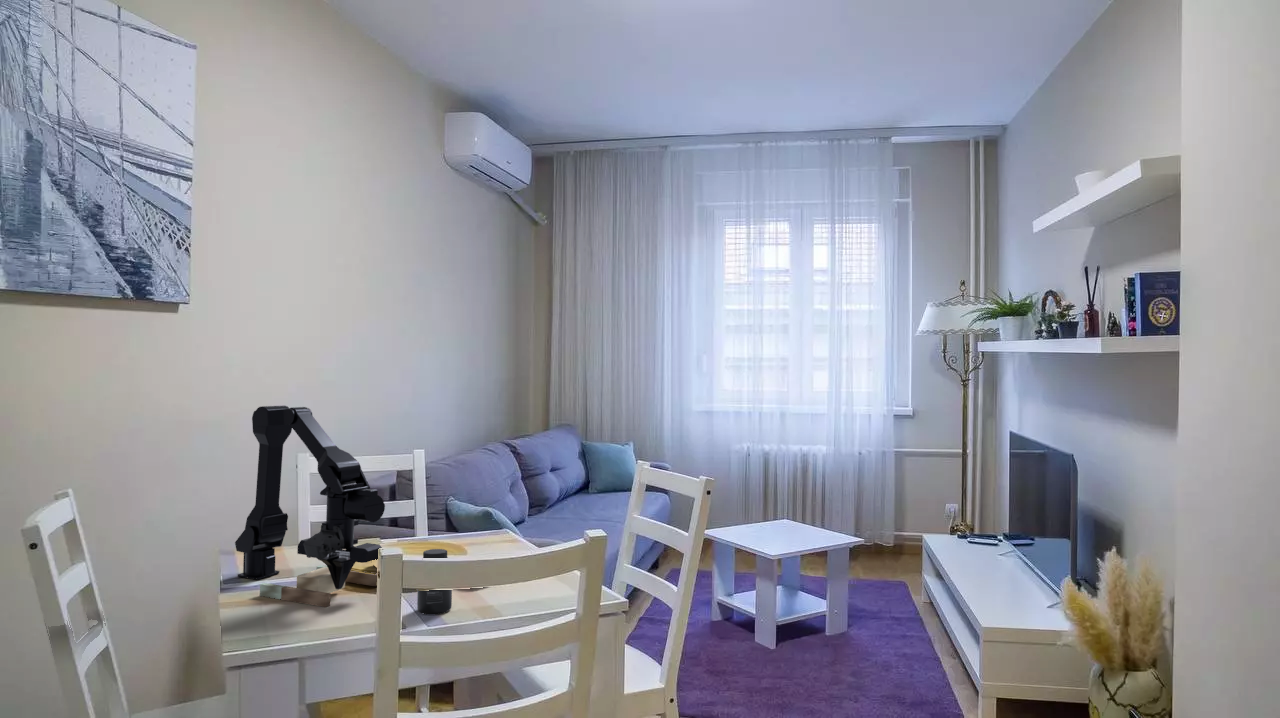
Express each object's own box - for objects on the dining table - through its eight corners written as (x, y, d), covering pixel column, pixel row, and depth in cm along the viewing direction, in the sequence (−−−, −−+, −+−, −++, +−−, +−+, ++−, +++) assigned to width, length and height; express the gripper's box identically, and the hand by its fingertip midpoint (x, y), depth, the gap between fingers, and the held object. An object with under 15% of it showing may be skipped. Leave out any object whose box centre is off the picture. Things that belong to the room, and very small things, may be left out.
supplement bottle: (458, 607, 158) (459, 549, 158) (439, 617, 152) (440, 556, 152) (429, 603, 160) (431, 546, 160) (409, 613, 154) (411, 553, 154)
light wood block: (296, 594, 165) (296, 575, 165) (323, 584, 173) (324, 567, 173) (318, 597, 163) (318, 579, 163) (344, 588, 170) (345, 570, 170)
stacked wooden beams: (259, 595, 163) (259, 584, 163) (320, 576, 179) (320, 565, 179) (325, 607, 156) (326, 594, 156) (382, 585, 172) (382, 574, 172)
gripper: (278, 519, 162) (276, 593, 162) (348, 528, 155) (346, 605, 155) (317, 510, 172) (315, 580, 172) (384, 518, 166) (383, 590, 166)
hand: (338, 588), depth 166 cm, fingers closed
